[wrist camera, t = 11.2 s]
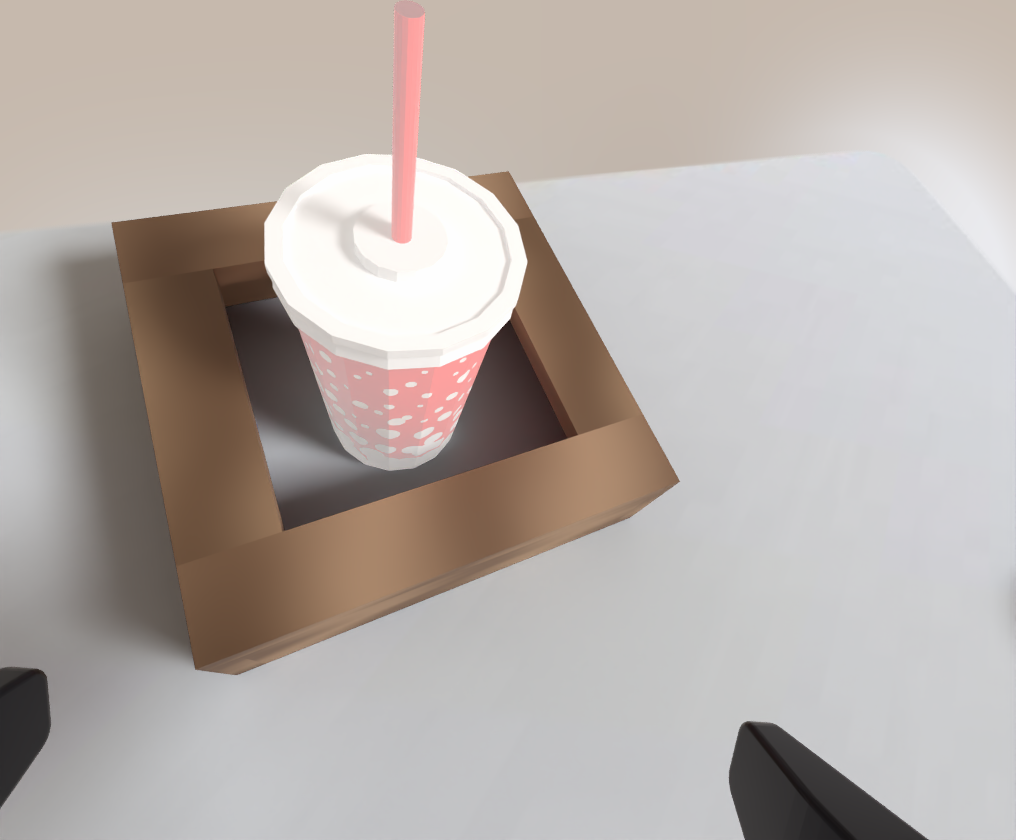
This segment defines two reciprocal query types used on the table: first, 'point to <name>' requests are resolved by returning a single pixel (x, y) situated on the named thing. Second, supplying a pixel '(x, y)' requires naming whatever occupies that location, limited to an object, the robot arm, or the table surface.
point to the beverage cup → (394, 280)
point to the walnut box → (381, 524)
